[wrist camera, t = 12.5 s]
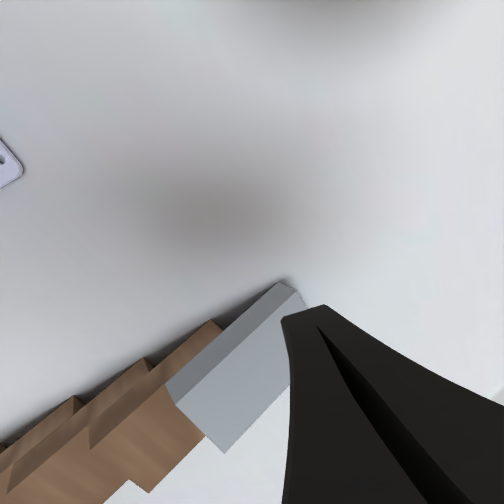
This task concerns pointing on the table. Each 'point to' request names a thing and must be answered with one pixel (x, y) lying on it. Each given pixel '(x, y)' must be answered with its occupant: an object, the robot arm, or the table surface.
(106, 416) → the domino
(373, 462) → the robot arm
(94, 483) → the domino
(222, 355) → the domino
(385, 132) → the table surface
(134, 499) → the table surface
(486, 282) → the table surface
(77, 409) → the domino
